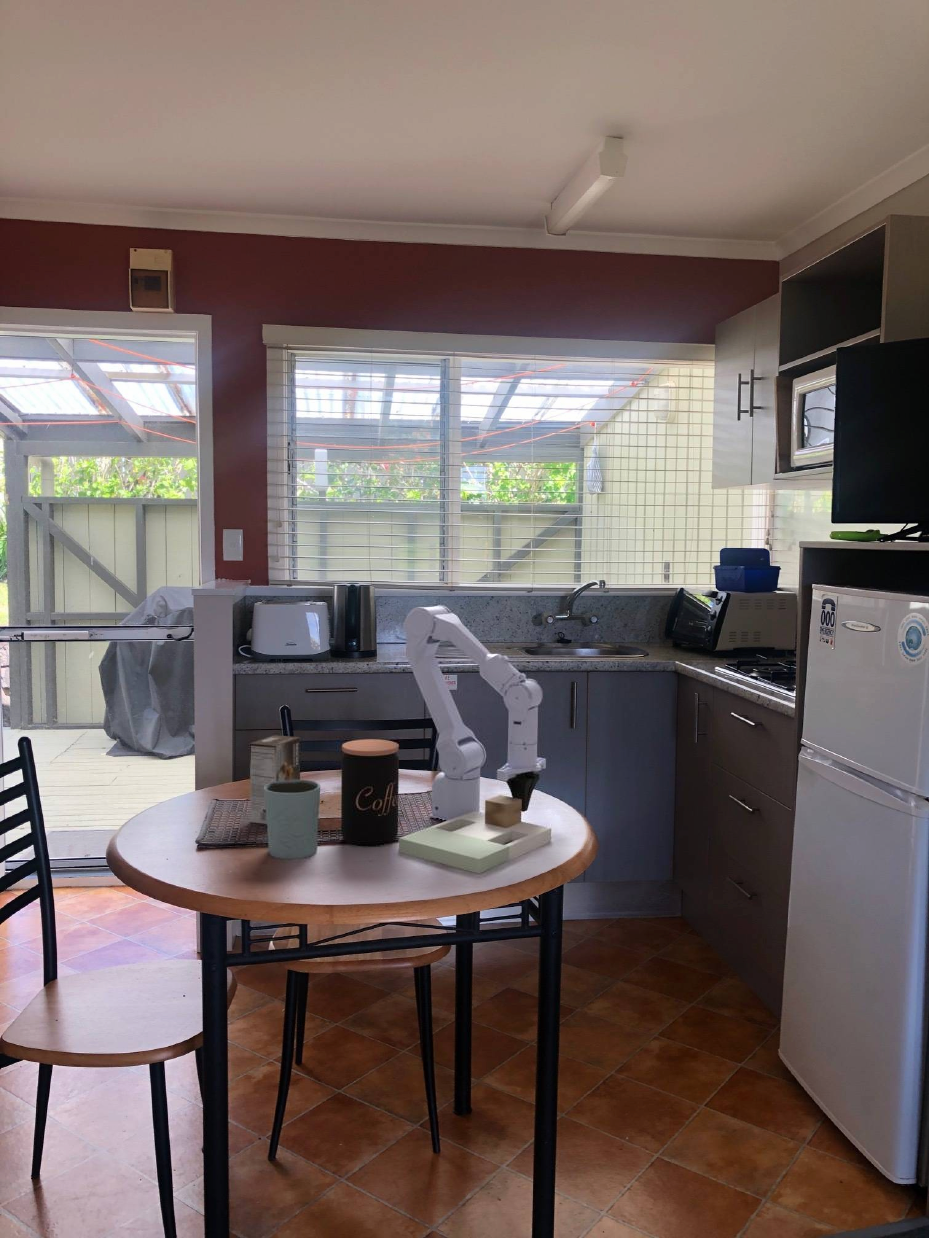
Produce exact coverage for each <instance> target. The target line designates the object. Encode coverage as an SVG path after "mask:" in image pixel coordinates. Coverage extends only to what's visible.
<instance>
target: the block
mask: <svg viewBox="0 0 929 1238" xmlns="http://www.w3.org/2000/svg"><path fill="white" fill-rule="evenodd" d="M484 806H485V807H484V813H485V823H486V824H490V825H494V826H499V827H503V828H508V827H511V826H513V825H516V824H518V823H521V822H522V811H521V807H522V799H517V798H513V797H512V796H507V795H502V794H500V795H496V796H493V797H491V798H487V799H485V802H484Z"/></svg>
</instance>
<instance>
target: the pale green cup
mask: <svg viewBox="0 0 929 1238" xmlns="http://www.w3.org/2000/svg"><path fill="white" fill-rule="evenodd" d="M264 799H265V805H266V820H267V824H266V826H267V840H268V843H267V844H268V851H269V852H268V853H269V854H270V856H271V857H273V858H276V859H277V858H278V859H285V860H286V859H287V860H298V859H304V858H308V857H311V856H314V855H315V854H316V852H317V851H318V845H319V844H318V839H319V836H318V831H319V815H320V814H319V813H320V801H321V784H320V783H318V782H317V781H314V780H307V779H300V780H283V781H277V782H273V783H269V784H267V785H265V786H264Z"/></svg>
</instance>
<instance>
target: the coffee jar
mask: <svg viewBox="0 0 929 1238" xmlns="http://www.w3.org/2000/svg"><path fill="white" fill-rule="evenodd" d="M399 747H400V745H399V743H397V742H394V741H393V740H392V741H391V740H386V739H373V738H370V739H367V738H366V739H357V740H351V741H347V742H344V743H342V745H341V750H342V752H343V753H344V754H343V756H342V758H341V778H340V779H341V784H340V785H341V786H340V787H341V788H340V791H341V792H340V793H341V795H340V796H341V799H340V800H341V801H340V802H341V803H340V804H341V808H340V809H341V810H340V811H341V812H340V815H341V817H340V818H341V819H340V821H341V822H340V823H341V825H340V834H341V837H342V838H343V840H344V841H345V843H346V844H348V845H350V846H351V845H352V846H355V847H361V848H373V847H374V848H376V847H382V846H386V845H389V844H392V843H393V842H394V841H395V839H396V838H397V837H398V833H399V783H400V782H399V781H400V780H399V776H400V775H399V773H400V771H399V768H400V767H399V765H400V764H399V763H400V759H399V756H398V755H397V753H398V751H399Z"/></svg>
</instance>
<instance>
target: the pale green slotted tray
mask: <svg viewBox="0 0 929 1238" xmlns="http://www.w3.org/2000/svg"><path fill="white" fill-rule="evenodd" d="M550 842H552V828H551V827H548V826H543V825H538V824H535V823H530V822H525V821H521V823H518V824H516V825H513V826H511V827H508V828H503V827H499V826H494V825H490V824H486V823H485V812H477V811H473V812H471V813H468V814H465V815H462V816H459V817H457V818H454V819H451V820H448V821H443V822H441V823H437V824H435V825H431V826H429V827H426V828H423V829H420V830H418V831H415V832H412V833H410V834H407V835H403V836H401V837H398V852H399V853H403V854H404V855H405V854H406V855H410V856H413V857H417V858H420V859H423V860H424V859H425V860H428V861H431V862H436V863H439V864H443V865H446V866H449V867H454V868H457V869H461V870H464V871H469V872H472V873H475V874H479V875H480V874H481V873H484V872H485V871H488V870H490V869H493V868H495V867H496V866H499V865H501V864H503V863H506V862H508V861H510V860H513V859H515V858H518V857H520V856H521V855H524V854H525V853H528V852H530V851H532V850H534V849H537V848H539V847H542V846H544V845H546V844H548V843H550Z"/></svg>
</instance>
